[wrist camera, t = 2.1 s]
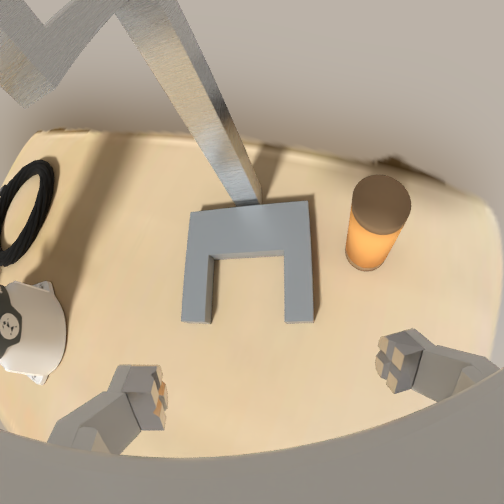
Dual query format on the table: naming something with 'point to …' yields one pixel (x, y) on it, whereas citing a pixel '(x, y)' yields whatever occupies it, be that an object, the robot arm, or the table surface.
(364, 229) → the orange brown canister
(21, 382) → the table surface
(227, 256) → the grey u-shaped bracket
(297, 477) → the robot arm
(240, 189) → the hook stand
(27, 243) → the cable lock
